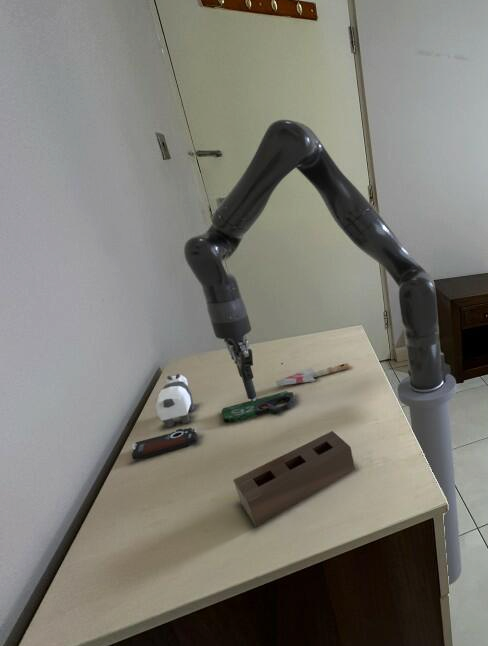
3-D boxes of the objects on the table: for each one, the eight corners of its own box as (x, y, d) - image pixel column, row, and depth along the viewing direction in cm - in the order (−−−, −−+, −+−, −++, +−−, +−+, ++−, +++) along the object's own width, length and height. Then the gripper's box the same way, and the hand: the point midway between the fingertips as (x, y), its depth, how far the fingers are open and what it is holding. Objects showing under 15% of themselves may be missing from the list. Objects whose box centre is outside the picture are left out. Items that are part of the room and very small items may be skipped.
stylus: (256, 397, 107) (244, 358, 103) (258, 400, 106) (247, 360, 102) (247, 400, 106) (236, 360, 102) (250, 403, 105) (238, 363, 100)
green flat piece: (221, 426, 96) (221, 406, 103) (223, 431, 96) (223, 411, 104) (296, 405, 104) (291, 388, 112) (297, 409, 105) (292, 392, 112)
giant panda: (190, 424, 99) (178, 391, 95) (162, 431, 97) (148, 397, 93) (199, 396, 111) (188, 366, 107) (174, 401, 108) (163, 371, 105)
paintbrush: (274, 376, 115) (346, 359, 126) (276, 384, 115) (347, 367, 127) (276, 381, 112) (349, 364, 123) (278, 390, 113) (350, 371, 124)
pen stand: (241, 503, 76) (232, 479, 74) (337, 452, 89) (332, 430, 87) (256, 527, 71) (247, 502, 69) (355, 469, 84) (350, 446, 82)
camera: (136, 437, 91) (196, 422, 96) (140, 448, 91) (199, 432, 97) (129, 451, 85) (193, 434, 91) (134, 462, 86) (196, 444, 92)
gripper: (256, 318, 95) (272, 381, 102) (237, 305, 104) (253, 364, 110) (219, 327, 90) (239, 393, 97) (202, 313, 99) (222, 374, 105)
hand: (246, 377), depth 104 cm, fingers closed on stylus, 2 cm apart
